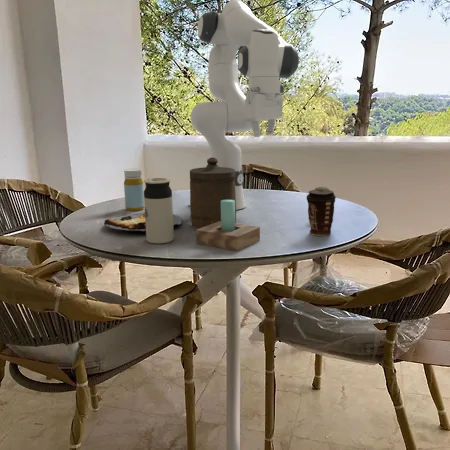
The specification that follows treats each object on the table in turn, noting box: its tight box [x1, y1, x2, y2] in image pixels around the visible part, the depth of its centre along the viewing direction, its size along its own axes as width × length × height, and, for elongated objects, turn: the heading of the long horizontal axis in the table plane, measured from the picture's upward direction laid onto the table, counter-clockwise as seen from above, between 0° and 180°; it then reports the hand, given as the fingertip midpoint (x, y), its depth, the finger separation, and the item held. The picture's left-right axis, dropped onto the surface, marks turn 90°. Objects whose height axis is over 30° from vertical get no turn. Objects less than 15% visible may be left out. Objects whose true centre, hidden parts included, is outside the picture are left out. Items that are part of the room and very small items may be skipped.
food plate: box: [103, 211, 183, 233], centre depth 159 cm, size 25×23×4 cm
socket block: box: [195, 221, 261, 252], centre depth 140 cm, size 14×12×4 cm
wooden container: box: [189, 157, 237, 230], centre depth 157 cm, size 15×15×22 cm
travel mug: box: [143, 177, 175, 245], centre depth 141 cm, size 8×8×18 cm
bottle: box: [123, 168, 145, 212], centre depth 182 cm, size 7×7×15 cm
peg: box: [221, 200, 235, 232], centre depth 139 cm, size 4×4×12 cm
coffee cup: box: [306, 189, 337, 237], centre depth 146 cm, size 9×8×13 cm
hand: (263, 135), depth 146 cm, fingers open, 8 cm apart
